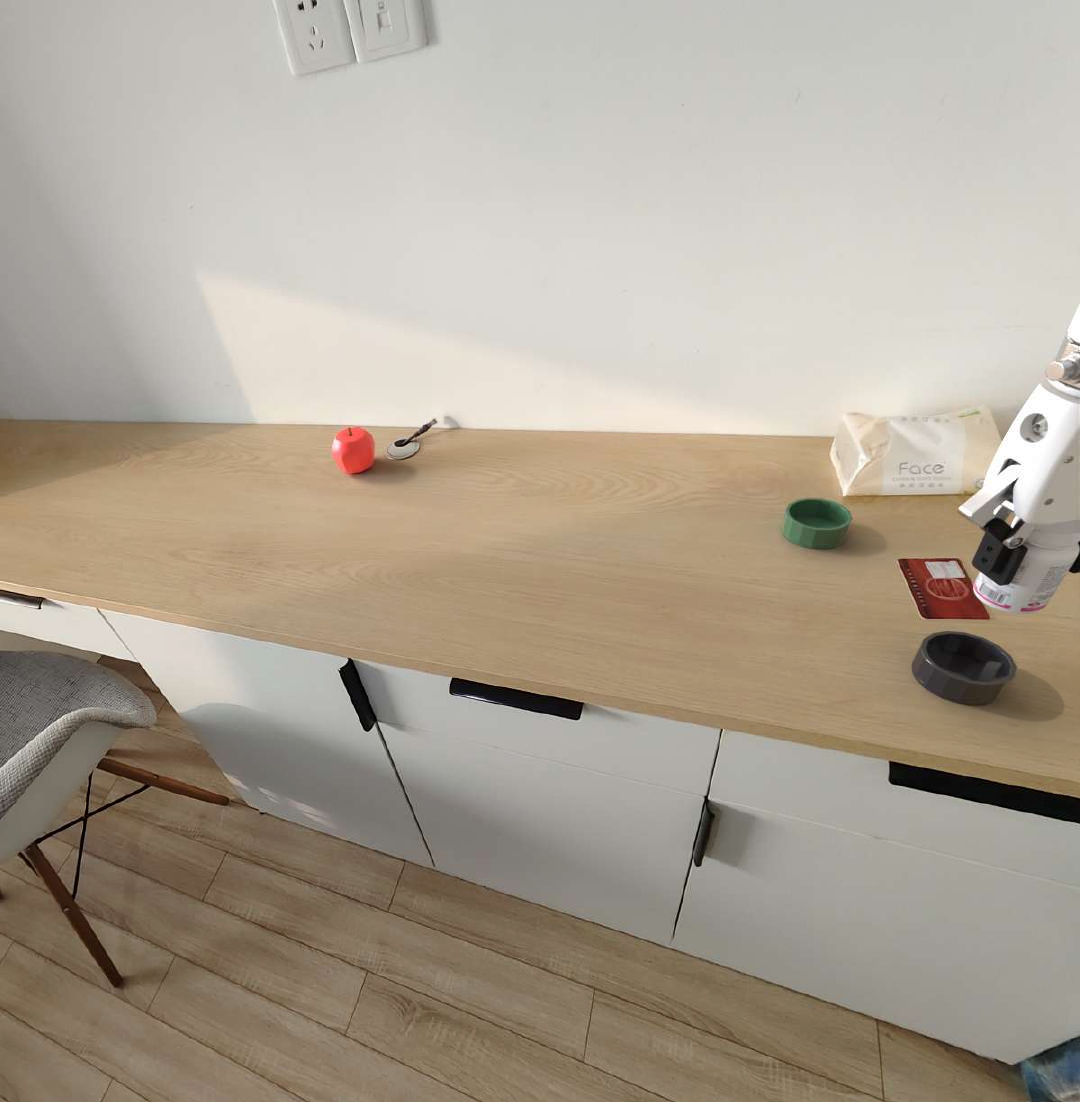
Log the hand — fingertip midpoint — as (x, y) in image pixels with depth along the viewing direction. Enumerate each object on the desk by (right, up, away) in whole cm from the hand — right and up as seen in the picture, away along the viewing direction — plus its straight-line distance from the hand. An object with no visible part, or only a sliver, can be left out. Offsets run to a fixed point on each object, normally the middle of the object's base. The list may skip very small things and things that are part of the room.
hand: (1025, 567), depth 55 cm
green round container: (+2, +4, +28) cm, 29 cm away
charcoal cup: (+3, -11, +9) cm, 15 cm away
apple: (-55, +16, +64) cm, 86 cm away
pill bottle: (+1, -3, +2) cm, 4 cm away
